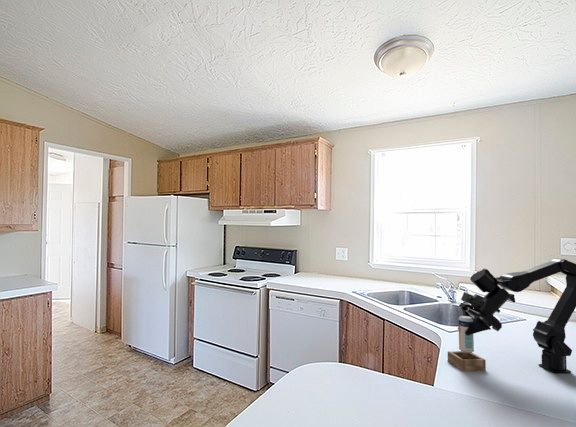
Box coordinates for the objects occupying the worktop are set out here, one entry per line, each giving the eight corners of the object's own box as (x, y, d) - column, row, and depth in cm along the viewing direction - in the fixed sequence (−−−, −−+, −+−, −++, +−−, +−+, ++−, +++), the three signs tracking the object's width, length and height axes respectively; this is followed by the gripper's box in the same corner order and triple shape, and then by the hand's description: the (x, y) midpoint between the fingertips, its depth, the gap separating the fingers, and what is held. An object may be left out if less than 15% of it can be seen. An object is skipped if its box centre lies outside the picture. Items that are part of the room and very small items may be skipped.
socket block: (469, 360, 118) (468, 350, 118) (485, 370, 109) (485, 359, 110) (447, 361, 117) (447, 351, 117) (462, 371, 108) (462, 360, 109)
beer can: (465, 348, 117) (464, 314, 117) (477, 352, 112) (476, 318, 113) (455, 349, 115) (455, 316, 115) (468, 354, 110) (467, 319, 111)
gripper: (462, 281, 124) (434, 309, 124) (491, 289, 106) (458, 322, 105) (484, 302, 123) (455, 330, 123) (516, 314, 105) (483, 347, 104)
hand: (462, 332), depth 114 cm, fingers closed on beer can, 5 cm apart
